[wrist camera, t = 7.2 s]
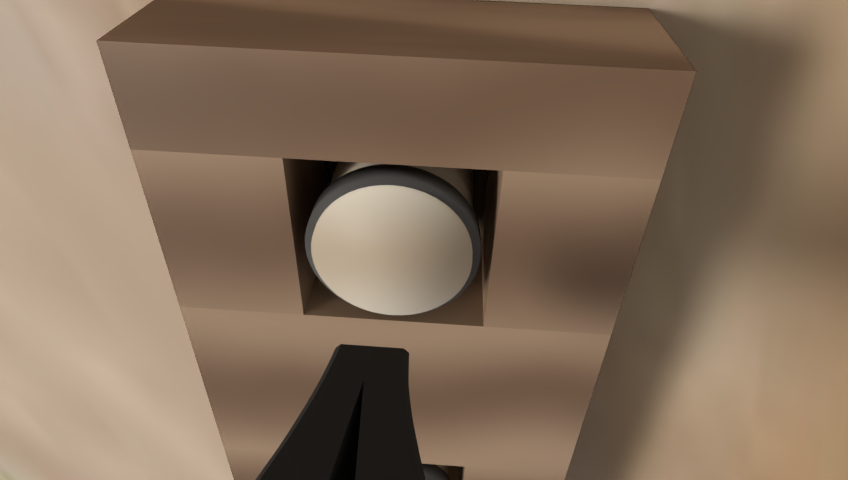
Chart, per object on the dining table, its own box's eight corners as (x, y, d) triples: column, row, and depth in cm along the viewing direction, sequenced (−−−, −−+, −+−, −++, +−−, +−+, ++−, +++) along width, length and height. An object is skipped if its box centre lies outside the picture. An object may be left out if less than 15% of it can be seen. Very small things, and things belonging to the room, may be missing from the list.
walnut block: (528, 482, 28) (535, 570, 25) (279, 463, 29) (255, 548, 26) (648, 8, 15) (696, 71, 12) (174, -15, 15) (96, 40, 12)
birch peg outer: (473, 239, 19) (473, 325, 16) (336, 230, 19) (311, 315, 16) (485, 112, 16) (488, 188, 13) (326, 103, 16) (294, 177, 13)
